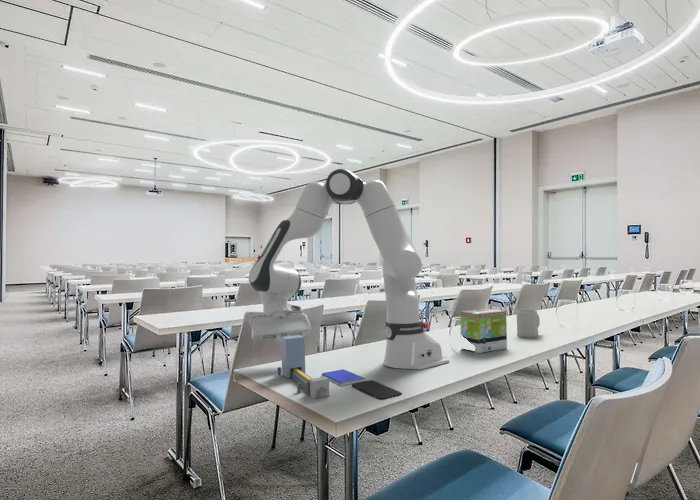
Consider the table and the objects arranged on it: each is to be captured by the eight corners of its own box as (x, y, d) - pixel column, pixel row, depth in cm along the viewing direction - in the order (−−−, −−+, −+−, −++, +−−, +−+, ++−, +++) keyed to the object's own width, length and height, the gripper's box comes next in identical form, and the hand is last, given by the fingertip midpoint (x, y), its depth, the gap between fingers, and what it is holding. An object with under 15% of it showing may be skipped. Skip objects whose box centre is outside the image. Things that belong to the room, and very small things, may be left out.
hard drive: (365, 377, 121) (344, 368, 132) (341, 382, 117) (321, 372, 127) (365, 382, 121) (344, 373, 132) (341, 387, 117) (321, 378, 127)
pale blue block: (300, 371, 133) (299, 334, 133) (305, 375, 128) (304, 337, 128) (282, 374, 130) (281, 336, 130) (286, 378, 126) (285, 339, 126)
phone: (380, 398, 104) (349, 384, 117) (380, 402, 104) (349, 387, 117) (403, 393, 107) (371, 379, 120) (403, 396, 107) (371, 382, 120)
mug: (529, 338, 176) (528, 312, 176) (513, 335, 184) (512, 310, 184) (547, 335, 182) (546, 310, 182) (530, 332, 189) (529, 308, 190)
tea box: (480, 354, 150) (479, 313, 151) (460, 349, 159) (458, 311, 159) (508, 348, 158) (506, 309, 158) (487, 344, 166) (486, 307, 167)
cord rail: (302, 370, 135) (302, 357, 135) (336, 394, 109) (335, 377, 109) (277, 374, 131) (276, 360, 131) (306, 399, 106) (305, 382, 106)
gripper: (248, 310, 139) (255, 345, 130) (306, 306, 148) (316, 338, 139) (246, 322, 143) (253, 356, 134) (302, 317, 152) (312, 349, 142)
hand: (286, 347), depth 136 cm, fingers closed
